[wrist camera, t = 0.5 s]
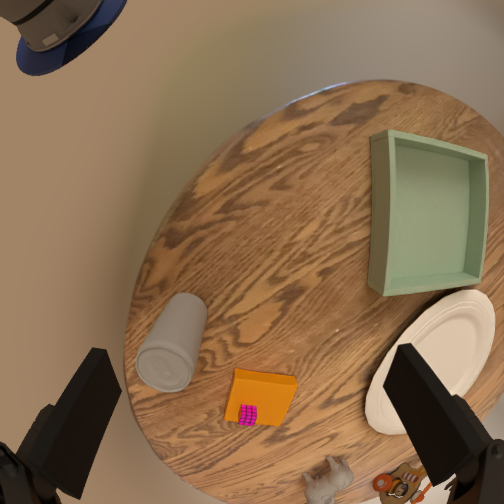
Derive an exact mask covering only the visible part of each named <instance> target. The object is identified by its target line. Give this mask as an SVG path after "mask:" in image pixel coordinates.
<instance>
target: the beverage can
mask: <svg viewBox="0 0 504 504" xmlns="http://www.w3.org/2000/svg"><path fill="white" fill-rule="evenodd" d="M207 318H208V311H207V307H206V305H205V303H204V302H203V301H202V300H201V299H200V298H199V297H197V296H195V295H193V294H191V293H185V292H184V293H178V294H176V295H174V296H173V297H172V298H171V299H170V300H169V302H168V303H167V305H166V306H165V308H164V310H163V311H162V313H161V314H160V316H159V317H158V319H157V321H156V322H155V324H154V325H153V327H152V329H151V330H150V332H149V334H148V335H147V337H146V339H145V340H144V342H143V344H142V345H141V347H140V349H139V350H138V352H137V357H136V362H135V365H136V370H137V373H138V375H139V376H140V378H141V379H142V380H143V381H144V382H145V383H146V384H147V385H148V386H150V387H152V388H153V389H156V390H158V391H161V392H167V393H174V392H178V391H181V390H183V389H185V388H186V387H187V386H188V385H189V383H190V381H191V380H192V378H193V375H194V373H195V369H196V364H197V360H198V356H199V351H200V347H201V343H202V338H203V334H204V330H205V326H206V322H207Z"/></svg>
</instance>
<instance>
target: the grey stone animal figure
mask: <svg viewBox="0 0 504 504" xmlns="http://www.w3.org/2000/svg"><path fill="white" fill-rule="evenodd" d="M326 460H327V461H329V464H330V468H331V472H330V474H329V475H328V476H326V477H322V475H317V476H316V478H317V480H316V481H314V480H313V479H312V477H310V476H309V474H308V473H307V472H305V473H303V474H302V476H303V477H304V478H305V481H306V488H305V491H304V494H305V497H306V499H307V502H306V503H305V504H333V503H334V502H335V498H334V494H336V493H337V492H338V491H339V490H343V489H345V488H347V487H348V486H349V485H350V484H351V482H352V481H353V478H354V473H353V472H352V471H351V470H350V467H349V466H348V463H347V461H346V460H345V459H342V460H340V463H342V466H341V465H339V464H338V463H336V462H335V460H334V458H333V457H332V456H328V457H327V458H326ZM329 500H330V501H329Z"/></svg>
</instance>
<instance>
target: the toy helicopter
mask: <svg viewBox="0 0 504 504" xmlns="http://www.w3.org/2000/svg"><path fill="white" fill-rule="evenodd" d="M426 476H427V473H426V471H425V468H424V466H423V465H422V466H421V467H419V468H418V469H413V468H410V466H409V464H406V463H403V464H401V465H400V467H399V469H398V470H397V471H396V472H394V473H392V474H391V475H390V476H389V475H385V474H383V475H379V476H378V477H377V478H376V479H375V480H374V482H373V489H374V490H375V491H378V492H380V501H381V503H382V504H404V503H406V502H407V501H408V500H410V499H411V500H410V502H411V504H416V503H417V502H421V501H422V500H423V499H424V494H425V493H426V492H427V491H428V490H429V488H430V487H431V486H432V484H431V482H430V483H429V484H428V485H427V487H426V488H425V489H424V490H423V491H421V490H419V491H417V490H418V488H419V486H420V484H421V481H422V480H423V479H424V478H425V477H426ZM403 482H405V483H406V484H405V483H403ZM389 493H390V494H393V493H395V495H396V496H403V497H401V498H398V497H396V496H395V495H389Z"/></svg>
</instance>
